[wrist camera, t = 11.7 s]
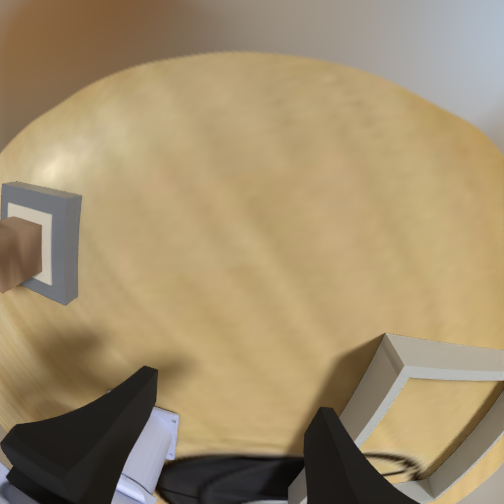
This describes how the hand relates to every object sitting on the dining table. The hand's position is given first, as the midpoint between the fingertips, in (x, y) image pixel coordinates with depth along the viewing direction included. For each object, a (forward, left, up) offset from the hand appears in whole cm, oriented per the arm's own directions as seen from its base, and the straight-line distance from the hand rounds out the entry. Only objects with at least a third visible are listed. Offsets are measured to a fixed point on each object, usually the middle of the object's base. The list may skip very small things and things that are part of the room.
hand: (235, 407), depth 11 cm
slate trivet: (0, +20, -10) cm, 22 cm away
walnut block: (0, +20, -8) cm, 21 cm away
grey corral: (-13, -23, -10) cm, 28 cm away
